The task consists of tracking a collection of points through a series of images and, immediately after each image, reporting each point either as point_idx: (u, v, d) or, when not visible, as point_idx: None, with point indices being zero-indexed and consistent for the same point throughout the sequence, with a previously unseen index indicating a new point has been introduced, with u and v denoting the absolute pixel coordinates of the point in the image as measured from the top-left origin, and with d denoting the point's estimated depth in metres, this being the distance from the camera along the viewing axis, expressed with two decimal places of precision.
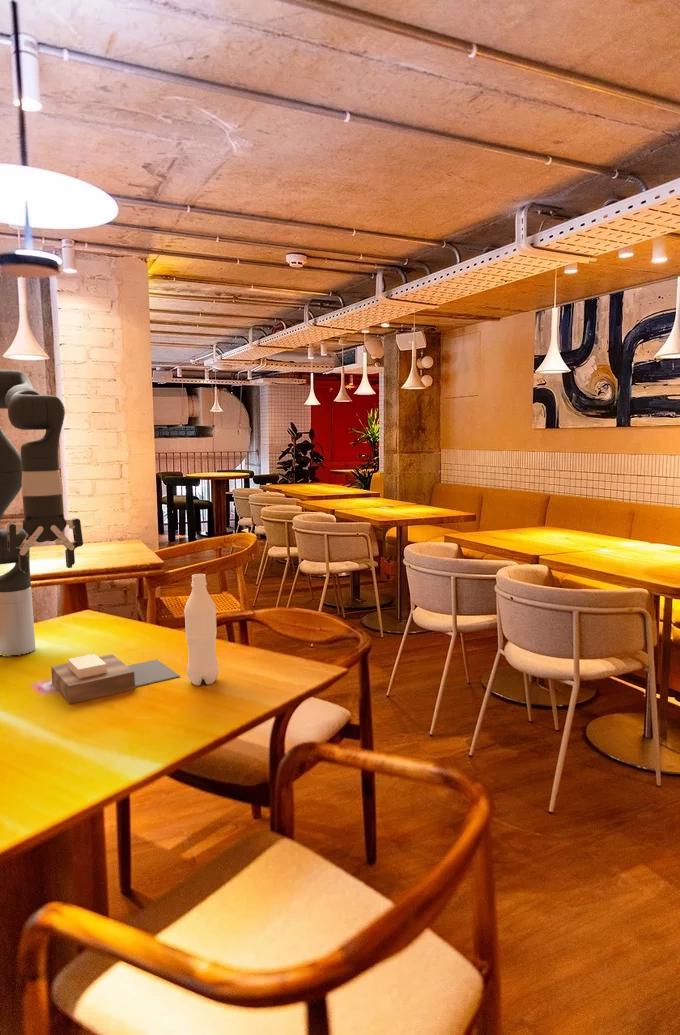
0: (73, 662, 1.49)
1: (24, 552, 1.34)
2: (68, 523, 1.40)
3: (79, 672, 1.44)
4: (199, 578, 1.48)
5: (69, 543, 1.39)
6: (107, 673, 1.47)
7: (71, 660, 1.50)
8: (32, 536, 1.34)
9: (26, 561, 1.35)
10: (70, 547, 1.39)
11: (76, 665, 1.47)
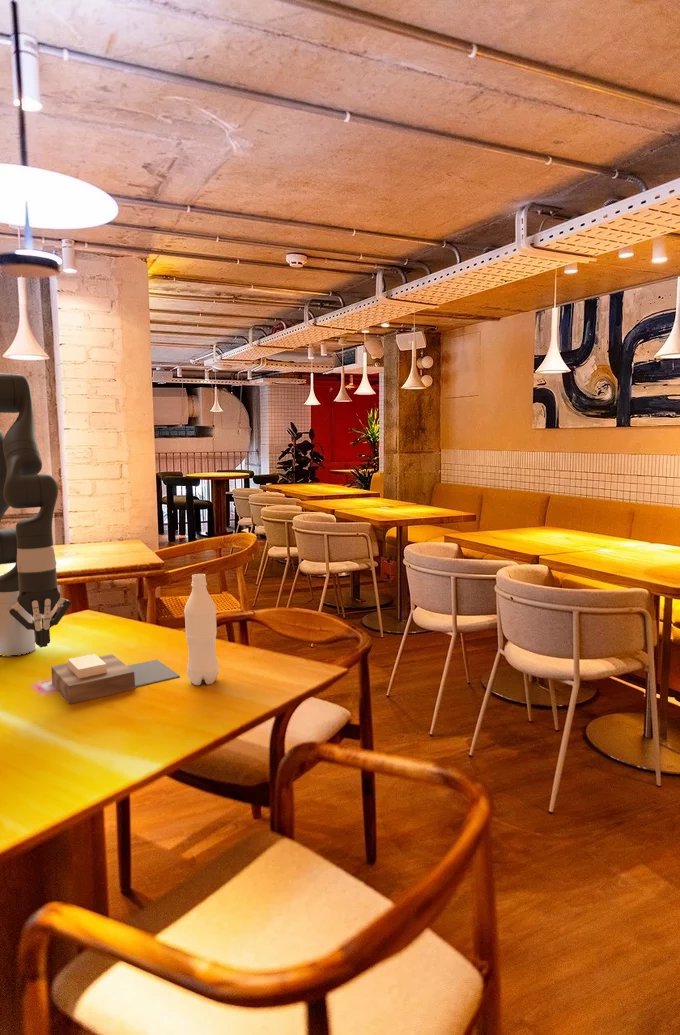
0: (73, 662, 1.49)
1: (39, 628, 1.42)
2: (60, 600, 1.45)
3: (79, 672, 1.44)
4: (199, 578, 1.48)
5: (44, 623, 1.42)
6: (107, 673, 1.47)
7: (71, 660, 1.50)
8: (34, 612, 1.41)
9: (42, 636, 1.42)
10: (46, 626, 1.43)
11: (76, 665, 1.47)
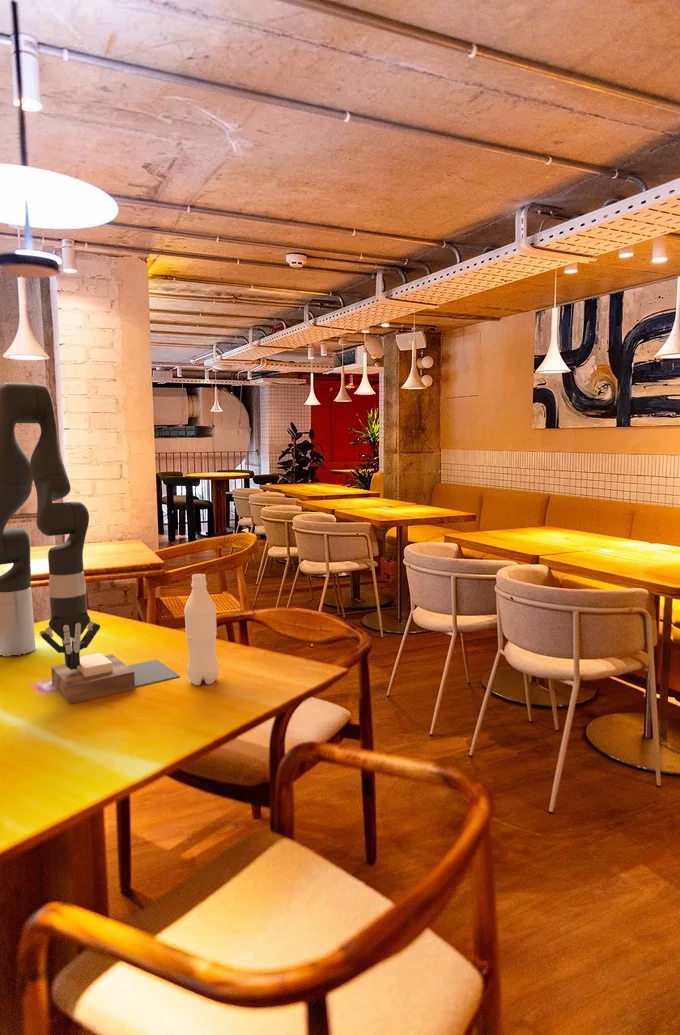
0: None
1: (70, 651, 1.46)
2: (89, 623, 1.49)
3: (85, 671, 1.45)
4: (199, 578, 1.48)
5: (74, 646, 1.47)
6: (107, 673, 1.47)
7: None
8: (65, 636, 1.45)
9: (72, 659, 1.47)
10: (76, 649, 1.47)
11: (82, 664, 1.48)
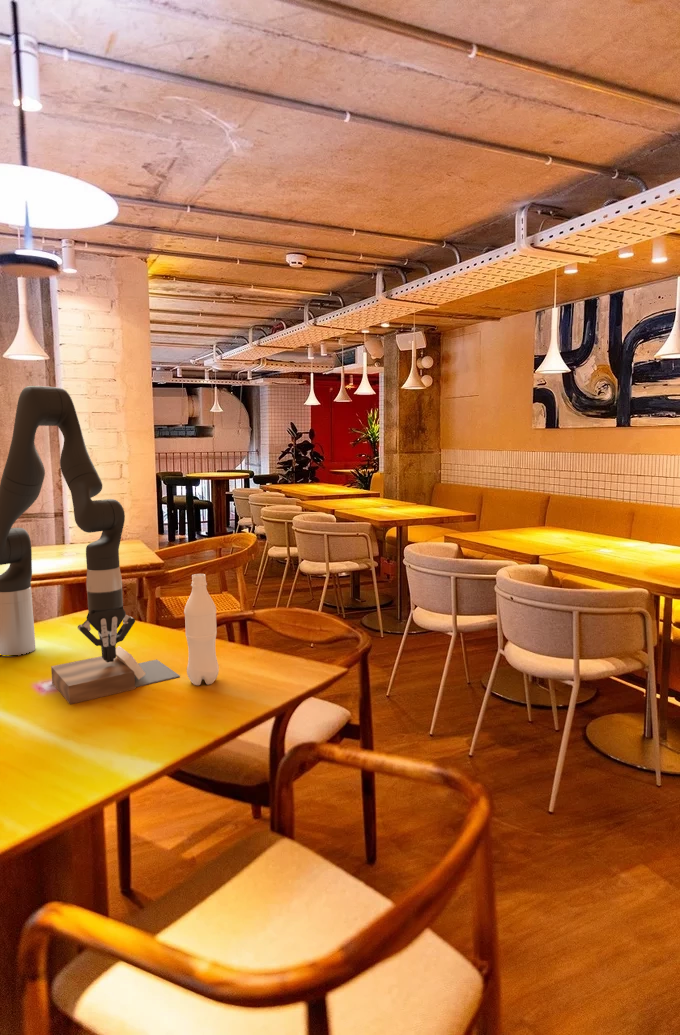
0: (124, 650, 1.55)
1: (107, 644, 1.51)
2: (125, 617, 1.53)
3: (129, 657, 1.50)
4: (199, 578, 1.48)
5: (111, 639, 1.51)
6: (107, 673, 1.47)
7: (121, 648, 1.57)
8: (102, 629, 1.49)
9: (109, 652, 1.51)
10: (112, 642, 1.51)
11: (127, 652, 1.53)
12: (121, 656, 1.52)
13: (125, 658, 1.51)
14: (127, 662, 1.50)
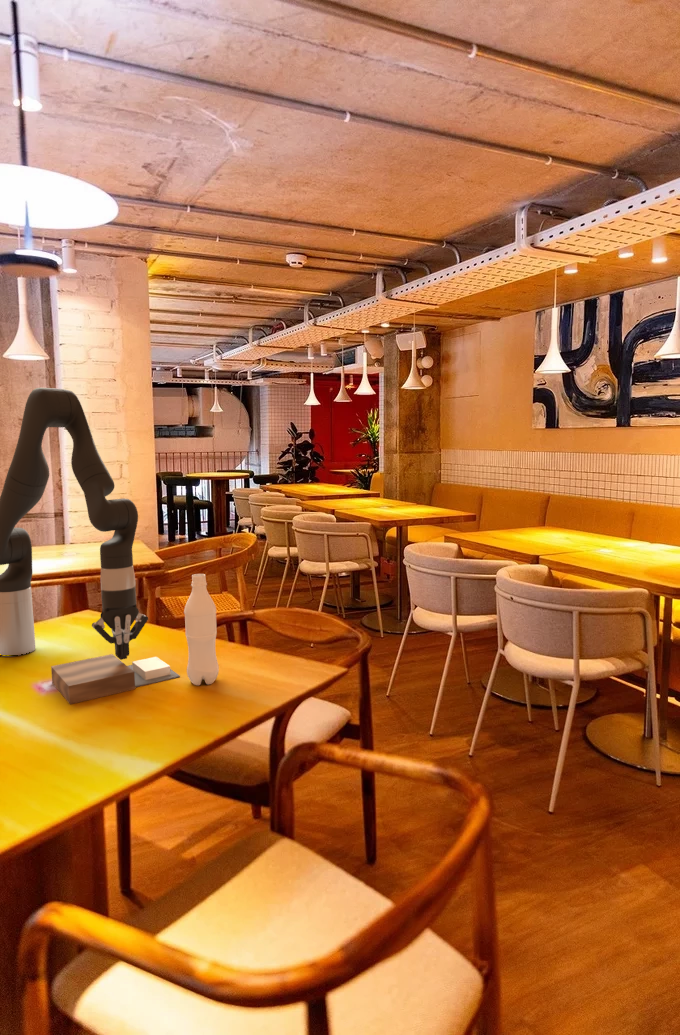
0: None
1: (120, 641, 1.53)
2: (138, 615, 1.55)
3: (169, 671, 1.56)
4: (199, 578, 1.48)
5: (124, 637, 1.53)
6: (107, 673, 1.47)
7: None
8: (116, 627, 1.51)
9: (122, 649, 1.53)
10: (126, 640, 1.53)
11: None
12: None
13: None
14: (166, 668, 1.56)
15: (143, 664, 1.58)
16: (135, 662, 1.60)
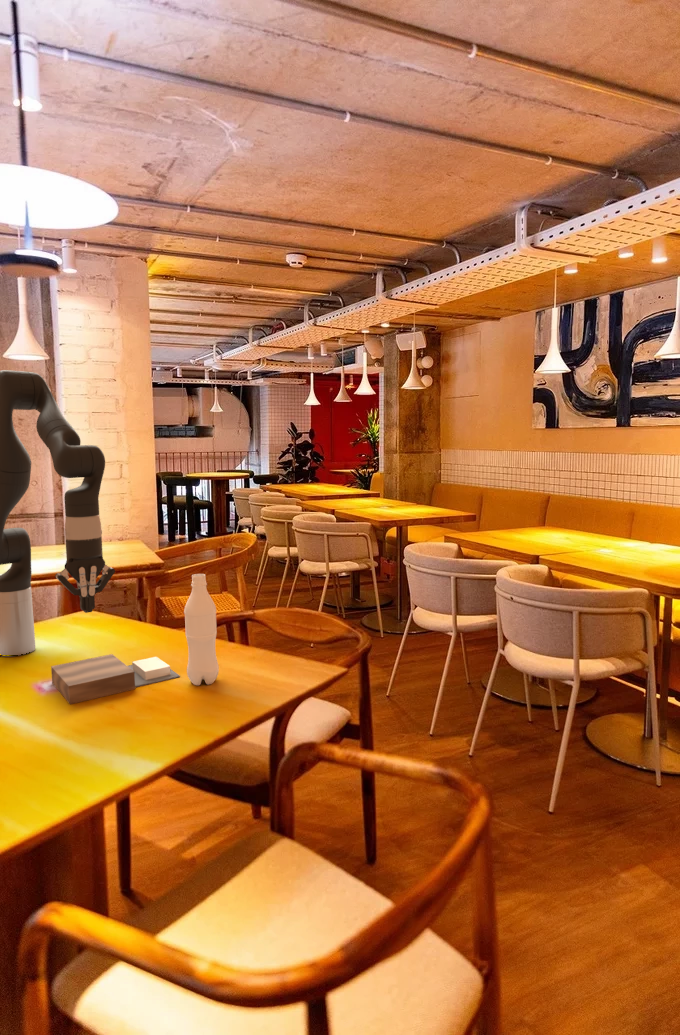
0: None
1: (85, 593, 1.47)
2: (104, 567, 1.50)
3: (169, 671, 1.56)
4: (199, 578, 1.48)
5: (90, 589, 1.48)
6: (107, 673, 1.47)
7: None
8: (81, 578, 1.46)
9: (87, 602, 1.48)
10: (91, 592, 1.48)
11: None
12: None
13: None
14: (166, 668, 1.56)
15: (143, 664, 1.58)
16: (135, 662, 1.60)
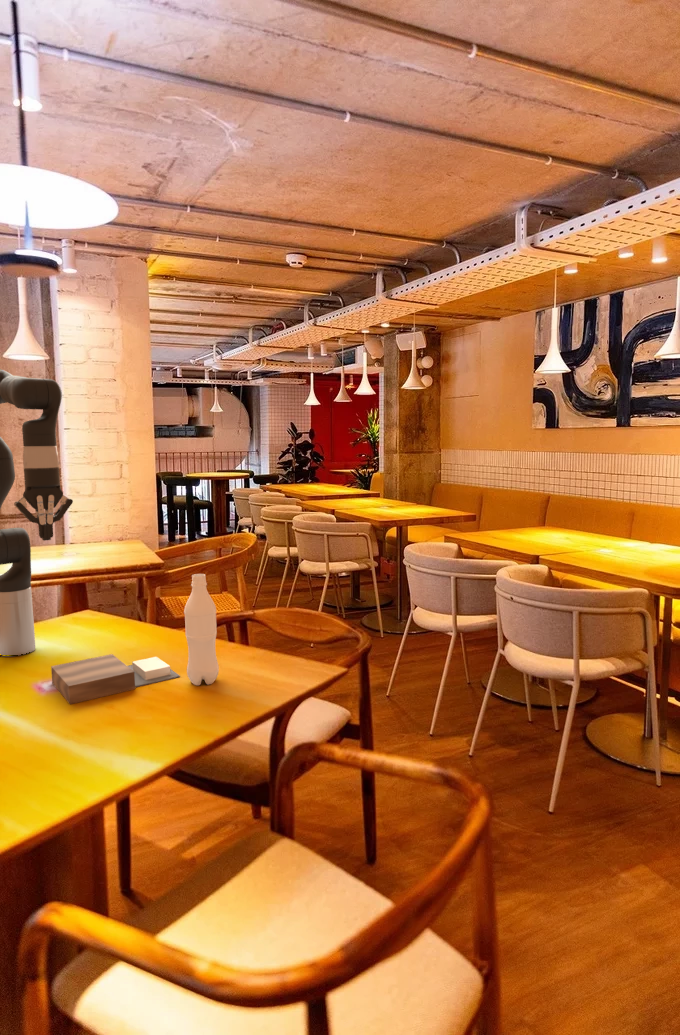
0: None
1: (43, 522, 1.53)
2: (62, 498, 1.56)
3: (169, 671, 1.56)
4: (199, 578, 1.48)
5: (48, 517, 1.54)
6: (107, 673, 1.47)
7: None
8: (38, 506, 1.52)
9: (45, 530, 1.54)
10: (49, 520, 1.54)
11: None
12: None
13: None
14: (166, 668, 1.56)
15: (143, 664, 1.58)
16: (135, 662, 1.60)
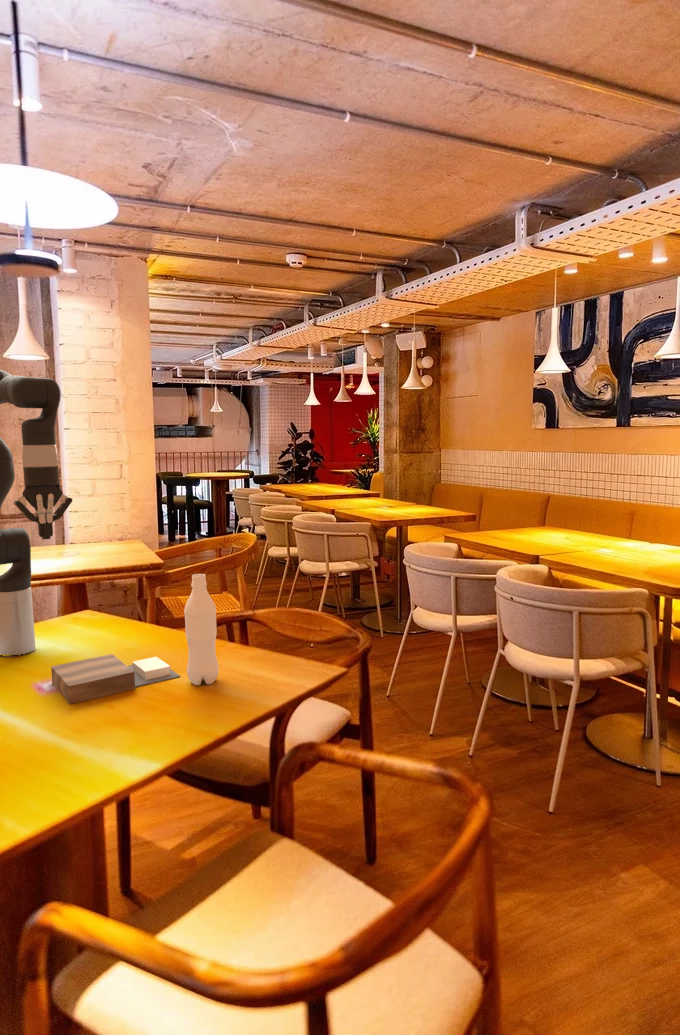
0: None
1: (43, 520, 1.53)
2: (62, 497, 1.56)
3: (169, 671, 1.56)
4: (199, 578, 1.48)
5: (47, 516, 1.54)
6: (107, 673, 1.47)
7: None
8: (38, 505, 1.52)
9: (45, 529, 1.54)
10: (49, 519, 1.54)
11: None
12: None
13: None
14: (166, 668, 1.56)
15: (143, 664, 1.58)
16: (135, 662, 1.60)
